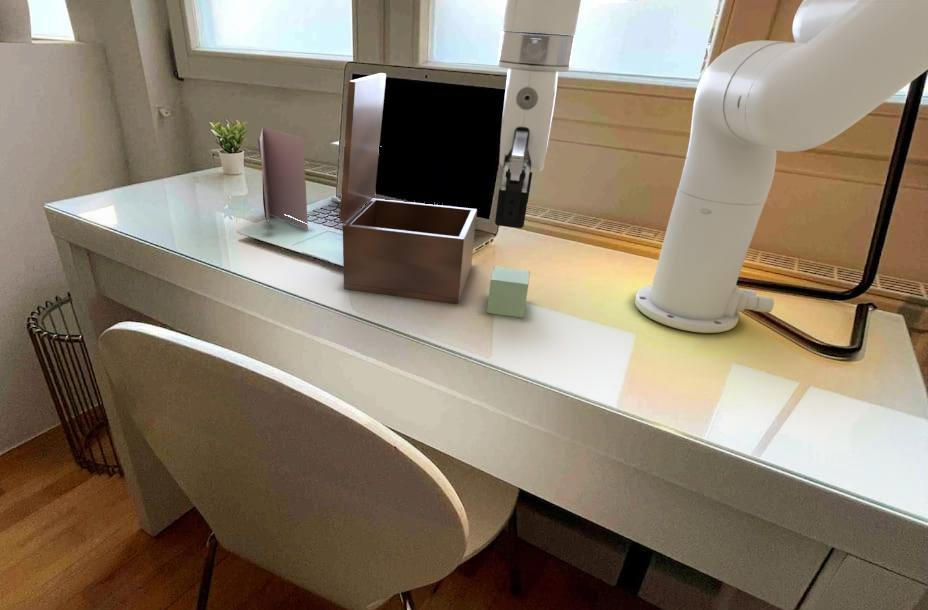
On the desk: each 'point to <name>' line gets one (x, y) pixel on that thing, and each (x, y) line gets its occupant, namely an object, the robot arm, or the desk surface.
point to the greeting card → (283, 177)
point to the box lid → (361, 142)
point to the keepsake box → (409, 249)
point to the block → (508, 291)
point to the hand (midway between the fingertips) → (512, 213)
